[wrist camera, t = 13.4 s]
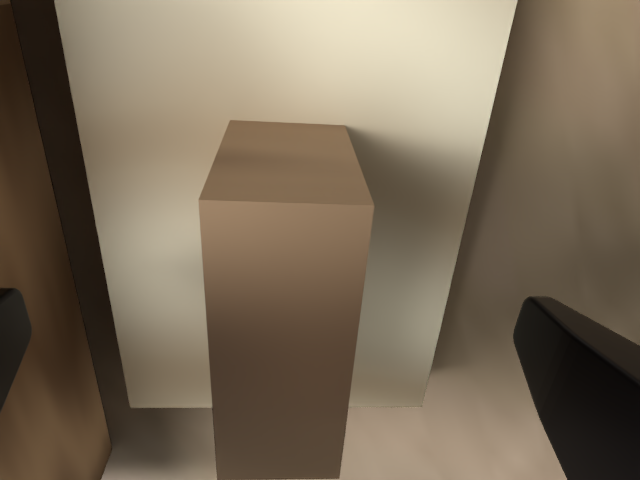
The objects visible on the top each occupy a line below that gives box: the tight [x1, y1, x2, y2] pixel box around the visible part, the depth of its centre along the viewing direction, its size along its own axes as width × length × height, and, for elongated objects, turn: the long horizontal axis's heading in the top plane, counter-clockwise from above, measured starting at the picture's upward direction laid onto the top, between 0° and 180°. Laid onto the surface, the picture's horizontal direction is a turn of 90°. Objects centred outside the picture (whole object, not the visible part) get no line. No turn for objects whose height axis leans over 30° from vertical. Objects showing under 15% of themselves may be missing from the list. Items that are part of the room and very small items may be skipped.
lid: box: [54, 0, 518, 480], centre depth 9 cm, size 17×9×6 cm, turn 176°
